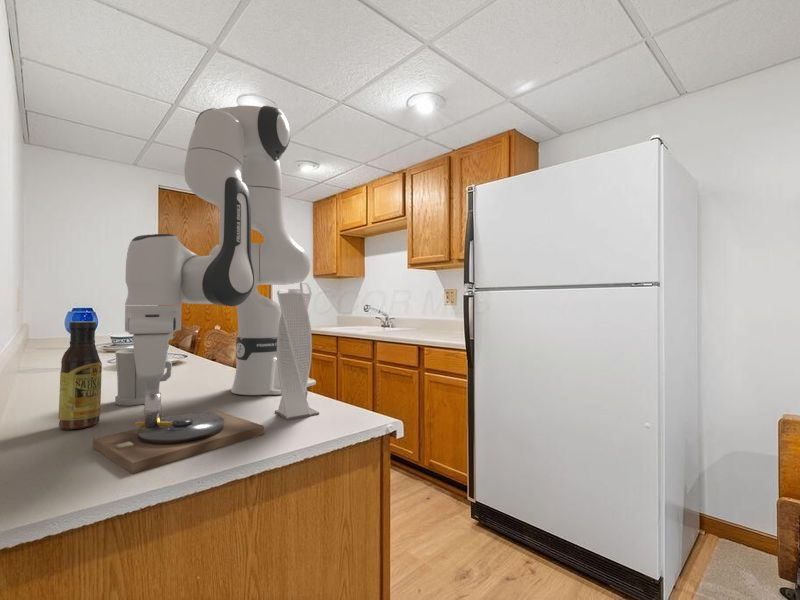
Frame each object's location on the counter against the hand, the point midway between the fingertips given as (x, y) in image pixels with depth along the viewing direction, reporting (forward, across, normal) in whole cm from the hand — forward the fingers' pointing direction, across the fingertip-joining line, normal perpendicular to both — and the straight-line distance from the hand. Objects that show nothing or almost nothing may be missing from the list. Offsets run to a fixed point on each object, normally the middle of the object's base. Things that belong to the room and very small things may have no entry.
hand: (153, 397), depth 74 cm
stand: (+6, +8, +5) cm, 11 cm away
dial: (+5, +7, +4) cm, 10 cm away
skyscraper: (+6, +1, +26) cm, 27 cm away
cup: (+6, -28, -4) cm, 28 cm away
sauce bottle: (+6, -10, -12) cm, 17 cm away
